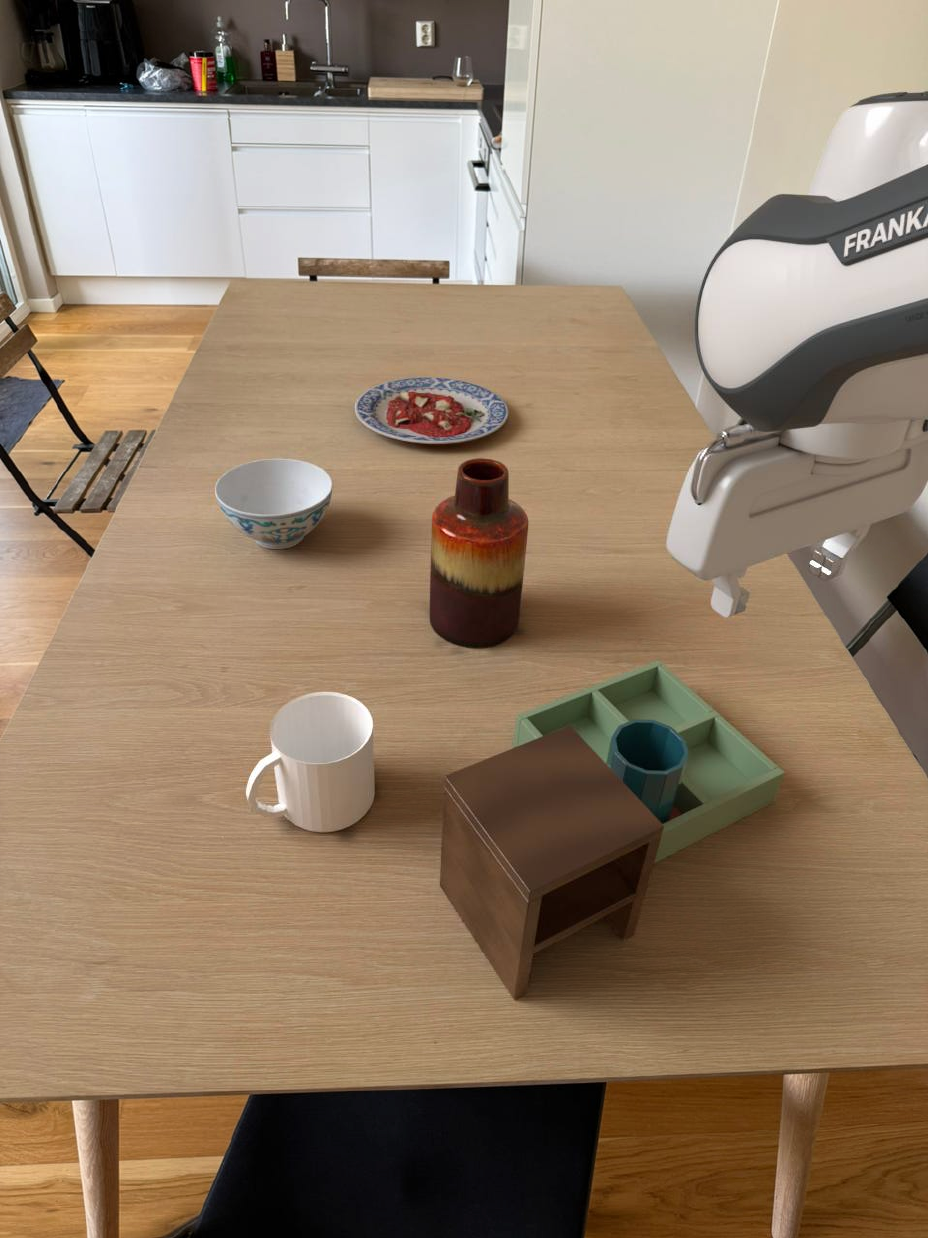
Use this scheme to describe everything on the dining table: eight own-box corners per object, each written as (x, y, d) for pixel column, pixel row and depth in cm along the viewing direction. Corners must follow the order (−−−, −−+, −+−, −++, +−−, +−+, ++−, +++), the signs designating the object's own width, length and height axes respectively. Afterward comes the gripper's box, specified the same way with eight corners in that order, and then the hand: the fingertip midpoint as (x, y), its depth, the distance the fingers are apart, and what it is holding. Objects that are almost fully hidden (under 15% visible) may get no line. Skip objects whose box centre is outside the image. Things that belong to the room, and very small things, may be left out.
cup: (683, 824, 83) (704, 757, 77) (628, 852, 80) (644, 784, 74) (638, 777, 87) (654, 710, 81) (584, 802, 84) (597, 734, 79)
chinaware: (324, 571, 114) (320, 519, 109) (208, 562, 114) (199, 510, 110) (343, 511, 126) (341, 462, 121) (238, 503, 126) (232, 454, 122)
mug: (357, 751, 89) (354, 682, 84) (388, 817, 83) (387, 746, 77) (237, 785, 85) (226, 714, 80) (261, 857, 79) (249, 786, 73)
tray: (773, 802, 86) (785, 772, 84) (624, 878, 79) (632, 848, 76) (651, 689, 99) (658, 659, 96) (512, 745, 91) (515, 715, 88)
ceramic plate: (331, 439, 143) (330, 422, 141) (384, 380, 163) (384, 364, 161) (486, 465, 138) (487, 448, 137) (521, 401, 158) (523, 385, 156)
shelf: (634, 934, 74) (664, 826, 66) (514, 1000, 69) (530, 892, 61) (552, 833, 82) (570, 724, 74) (439, 885, 77) (444, 775, 69)
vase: (502, 588, 113) (515, 442, 100) (530, 641, 105) (548, 489, 92) (420, 599, 110) (422, 450, 98) (442, 654, 102) (447, 499, 89)
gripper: (745, 457, 47) (695, 662, 55) (984, 392, 55) (909, 577, 63) (665, 413, 51) (630, 609, 59) (898, 358, 60) (839, 536, 68)
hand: (776, 592), depth 61 cm, fingers open, 8 cm apart
